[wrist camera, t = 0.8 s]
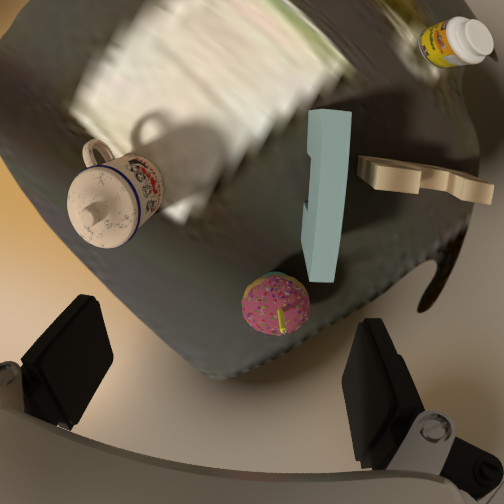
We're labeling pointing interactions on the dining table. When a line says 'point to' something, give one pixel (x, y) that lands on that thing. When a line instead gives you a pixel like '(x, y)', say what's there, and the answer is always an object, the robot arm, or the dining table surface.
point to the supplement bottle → (456, 43)
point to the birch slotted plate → (422, 179)
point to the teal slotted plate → (325, 191)
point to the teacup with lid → (113, 196)
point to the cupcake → (275, 304)
